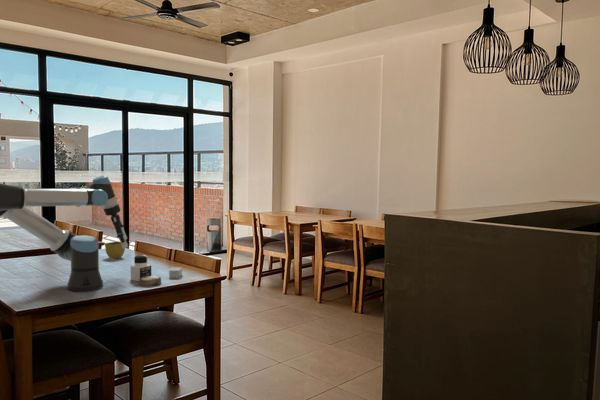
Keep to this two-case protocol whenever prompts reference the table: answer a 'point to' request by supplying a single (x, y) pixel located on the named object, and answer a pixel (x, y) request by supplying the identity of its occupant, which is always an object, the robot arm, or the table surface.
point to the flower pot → (114, 249)
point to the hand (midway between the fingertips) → (125, 243)
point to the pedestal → (150, 281)
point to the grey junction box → (175, 272)
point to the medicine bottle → (140, 268)
